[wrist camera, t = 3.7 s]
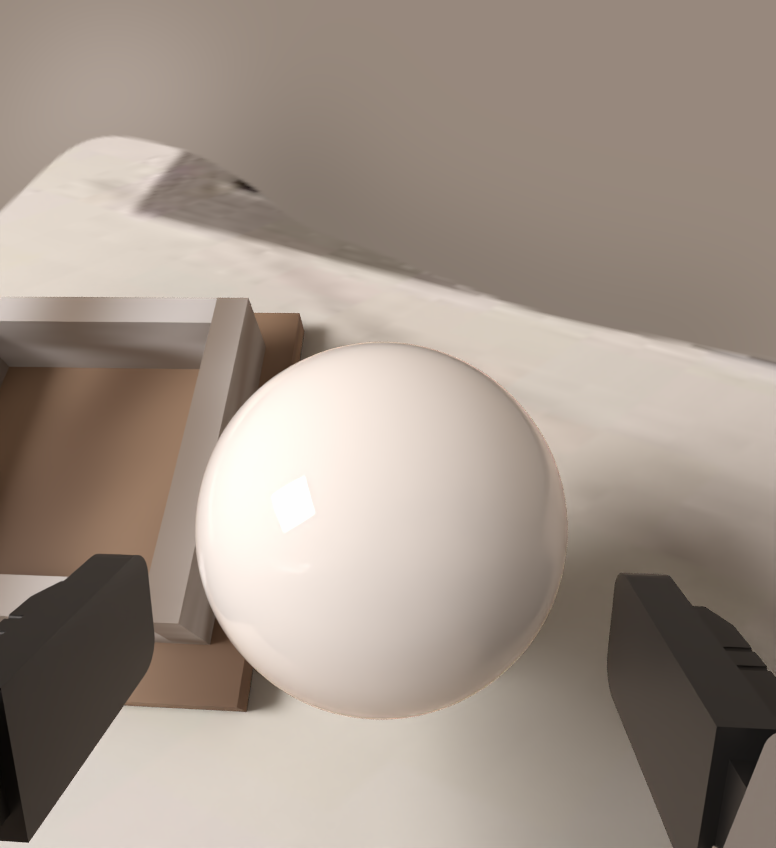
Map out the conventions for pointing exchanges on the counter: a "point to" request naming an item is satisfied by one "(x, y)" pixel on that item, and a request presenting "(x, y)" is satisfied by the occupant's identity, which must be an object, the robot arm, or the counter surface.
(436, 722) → the counter surface
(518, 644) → the lightbulb
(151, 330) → the socket board
